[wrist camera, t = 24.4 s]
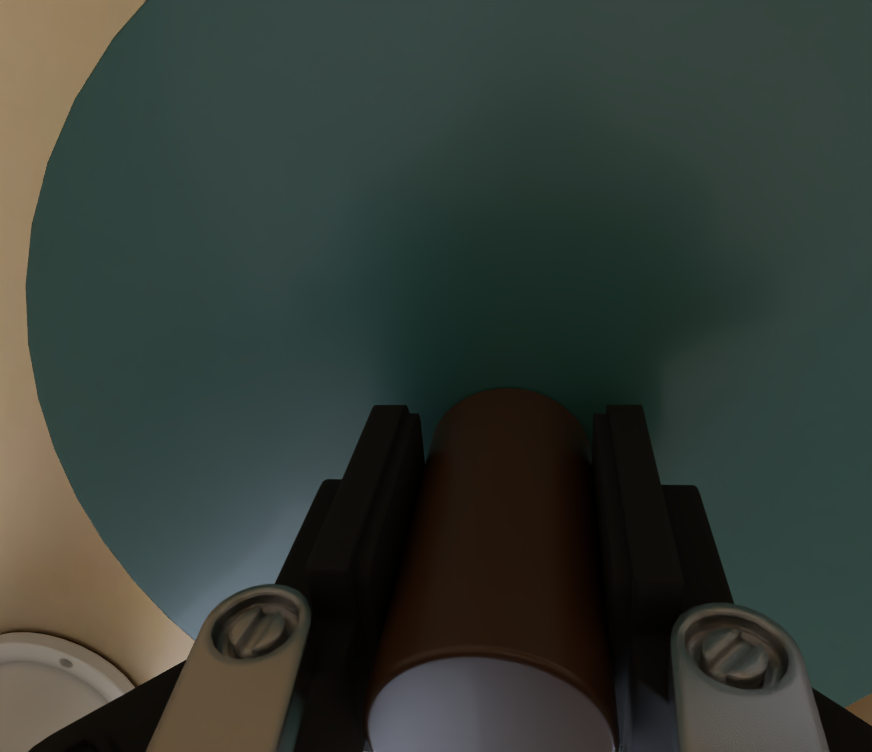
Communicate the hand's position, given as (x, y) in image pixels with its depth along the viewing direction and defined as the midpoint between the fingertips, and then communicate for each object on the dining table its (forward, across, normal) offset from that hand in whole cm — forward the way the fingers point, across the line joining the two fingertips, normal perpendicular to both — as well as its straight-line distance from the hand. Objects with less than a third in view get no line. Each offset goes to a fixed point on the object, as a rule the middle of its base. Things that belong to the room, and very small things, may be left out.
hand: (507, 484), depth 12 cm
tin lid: (+1, 0, 0) cm, 1 cm away
